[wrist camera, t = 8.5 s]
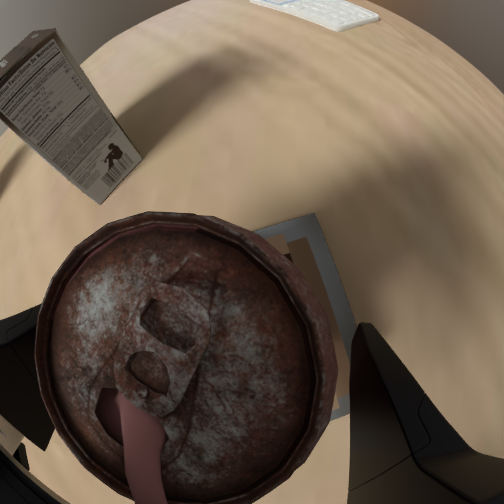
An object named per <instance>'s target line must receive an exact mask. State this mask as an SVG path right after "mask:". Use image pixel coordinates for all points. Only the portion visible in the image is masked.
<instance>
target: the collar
mask: <svg viewBox="0 0 504 504" xmlns="http://www.w3.org/2000/svg"><path fill="white" fill-rule="evenodd" d="M254 233H256V234H259V235H260V236H261V237H263V238H264V239H265V240H266V241H267V242H268V243H270V244H271V245H272V246H273V247H274V248H276V249H277V250H278V251H279V252H280V253H281V254H283V255H284V256H285V257H286V258H287V259H288V260H290V261H291V262H292V263H293V264H294V265H295V266H297V267H298V268H299V269H300V271H301V272H302V274H303V276H304V277H305V279H306V280H307V282H308V284H309V285H310V287H311V289H312V290H313V292H314V294H315V296H316V297H317V299H318V301H319V302H320V304H321V306H322V307H323V309H324V311H325V312H326V314H327V316H328V319H329V324H330V329H331V333H332V338H333V343H334V348H335V353H336V359H337V364H338V369H339V371H338V378H337V384H336V390H335V396H334V402H333V408H332V413H331V418H330V421H331V420H334V419H337V418H340V417H342V416H345V415H347V414H350V397H349V376H350V360H351V343H352V339H353V336H354V334H355V332H356V329H357V327H356V324H355V320H354V317H353V314H352V311H351V308H350V305H349V302H348V300H347V297H346V294H345V291H344V288H343V285H342V283H341V280H340V277H339V274H338V272H337V269H336V266H335V264H334V261H333V258H332V256H331V253H330V250H329V248H328V245H327V243H326V240H325V238H324V235H323V233H322V230H321V228H320V225H319V223H318V221H317V218H316V216H315V213H312V214H308V215H305V216H302V217H299V218H295V219H292V220H289V221H286V222H282V223H279V224H276V225H273V226H270V227H266V228H263V229H260V230H257V231H254Z"/></svg>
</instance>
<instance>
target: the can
mask: <svg viewBox="0 0 504 504" xmlns="http://www.w3.org/2000/svg"><path fill="white" fill-rule="evenodd" d="M34 355H35V363H36V370H37V376H38V382H39V387H40V392H41V396H42V399H43V401H44V404H45V406H46V408H47V411H48V413H49V415H50V418H51V420H52V422H53V424H54V426H55V429H56V431H57V433H58V434H59V436H60V437H61V439H62V440H63V441H64V443H65V444H66V445H67V447H68V448H69V449H70V451H71V452H72V453H73V454H74V456H75V457H76V458H77V459H78V461H79V462H80V463H81V464H82V465H83V467H84V468H86V469H87V470H88V471H89V472H90V473H92V474H93V475H94V476H95V477H97V478H98V479H99V480H100V481H102V482H103V483H104V484H106V485H107V486H108V487H110V488H111V489H112V490H114V491H115V492H117V493H118V494H120V495H122V496H124V497H126V498H129V499H131V500H133V501H135V504H252V503H254V502H255V501H257V500H258V499H260V498H261V497H263V496H264V495H266V494H267V493H269V492H270V491H272V490H273V489H275V488H276V487H278V486H279V485H280V484H282V483H283V482H285V481H286V480H287V479H289V478H290V477H291V475H292V474H293V472H294V471H295V470H296V469H297V468H299V467H300V466H301V465H302V464H304V463H305V461H306V460H307V458H308V457H309V455H310V453H311V452H312V450H313V449H314V447H315V446H316V444H317V442H318V441H319V439H320V437H321V436H322V434H323V432H324V431H325V429H326V427H327V425H328V424H329V422H330V418H331V413H332V408H333V402H334V396H335V390H336V384H337V378H338V371H339V369H338V364H337V359H336V353H335V348H334V343H333V338H332V333H331V329H330V324H329V319H328V316H327V314H326V312H325V311H324V309H323V307H322V306H321V304H320V302H319V301H318V299H317V297H316V296H315V294H314V292H313V290H312V289H311V287H310V285H309V284H308V282H307V280H306V279H305V277H304V276H303V274H302V272H301V271H300V269H299V268H298V267H297V266H295V265H294V264H293V263H292V262H291V261H290V260H288V259H287V258H286V257H285V256H284V255H283V254H281V253H280V252H279V251H278V250H277V249H276V248H274V247H273V246H272V245H271V244H270V243H268V242H267V241H266V240H265V239H264V238H263V237H261V236H260V235H259V234H256V233H254V232H251V231H249V230H247V229H244V228H242V227H239V226H237V225H234V224H232V223H229V222H227V221H224V220H222V219H219V218H217V217H214V216H202V215H196V214H193V213H174V212H151V211H147V212H144V213H140V214H137V215H133V216H130V217H127V218H124V219H120V220H117V221H114V222H111V223H108V224H106V225H105V226H103V227H102V228H100V229H99V230H97V231H96V232H95V233H93V234H92V235H90V236H89V237H88V238H86V239H85V240H84V241H82V242H81V243H80V244H78V245H77V246H75V248H74V249H73V250H72V251H71V253H70V254H69V255H68V257H67V258H66V259H65V261H64V262H63V263H62V265H61V266H60V267H59V269H58V270H57V271H56V273H55V274H54V276H53V277H52V279H51V281H50V284H49V286H48V289H47V291H46V294H45V297H44V299H43V302H42V305H41V308H40V311H39V314H38V319H37V328H36V339H35V354H34Z"/></svg>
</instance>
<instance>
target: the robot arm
mask: <svg viewBox="0 0 504 504" xmlns="http://www.w3.org/2000/svg"><path fill="white" fill-rule="evenodd" d="M41 305H42V303H41V304H39V305H37V306H35V307H32V308H30V309H28V310H25V311H23V312H21V313H18V314H16V315H13V316H11V317H8V318H5V319H3V320H0V504H70V503H69V502H67V501H66V500H64V499H63V498H61V497H60V496H59V495H57V494H56V493H55V492H53V491H52V490H51V489H49V488H48V487H47V486H46V485H44V484H43V483H42V482H41V481H39V480H38V479H37V478H36V477H35V476H33V475H32V474H31V473H30V472H29V470H30V468H29V464H28V459H27V454H26V449H25V445H24V444H23V443H22V442H21V441H22V440H23V438H24V436H25V437H26V438H27V439H29V440H30V441H31V442H32V443H34V444H35V445H36V446H38V447H39V448H40V449H42V450H43V451H45V450H46V449H47V446H48V444H49V441H50V439H51V437H52V434H53V432H54V430H55V426H54V424H53V422H52V420H51V418H50V415H49V413H48V411H47V408H46V406H45V404H44V401H43V399H42V396H41V392H40V387H39V382H38V376H37V370H36V363H35V355H34V354H35V339H36V328H37V319H38V314H39V311H40V308H41ZM349 397H350V468H349V487H348V491H349V492H348V499H347V504H504V459H502V458H497V457H493V456H489V455H485V454H482V453H479V452H477V451H475V450H473V449H472V448H471V447H470V446H469V445H468V444H467V443H466V442H465V441H464V440H463V439H462V437H461V436H460V435H459V434H458V433H457V432H456V430H455V429H454V428H453V427H452V426H451V425H450V424H449V422H448V421H447V420H446V419H445V418H444V416H443V415H442V414H441V413H440V412H439V410H438V409H437V408H436V406H435V405H434V404H433V403H432V401H431V400H430V398H429V397H428V396H427V394H426V393H425V394H424V390H423V389H422V388H421V386H420V385H419V384H418V382H417V381H416V380H415V378H414V377H413V376H412V374H411V373H410V372H409V370H408V369H407V368H406V366H405V365H404V364H403V363H402V361H401V360H400V359H399V357H398V356H397V355H396V354H395V352H394V351H393V350H392V348H391V347H390V346H389V345H388V343H387V342H386V341H385V340H384V338H383V337H382V336H381V335H380V333H379V332H378V331H377V330H376V328H375V327H374V326H373V325H372V324H371V323H364V322H361V323H359V325H358V327H357V329H356V332H355V334H354V336H353V339H352V343H351V360H350V376H349Z"/></svg>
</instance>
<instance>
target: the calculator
mask: <svg viewBox="0 0 504 504" xmlns="http://www.w3.org/2000/svg"><path fill="white" fill-rule="evenodd" d="M250 2H251V3H253V4H257V5H261V6H265V7H268V8H272V9H275V10H279V11H282V12H285V13H288V14H291V15H294V16H297V17H300V18H303V19H305V20H308V21H311V22H313V23H316V24H318V25H321V26H323V27H326V28H328V29H331V30H333V31H337V32H340V31H345V30H348V29H351V28H355V27H358V26H362V25H365V24H369V23H373V22H376V21H378V20H379V15H378V14H376V13H374V12H372V11H369V10H367V9H365V8H362V7H360V6H357V5H355V4H352V3H350V2H347V1H344V0H250Z"/></svg>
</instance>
